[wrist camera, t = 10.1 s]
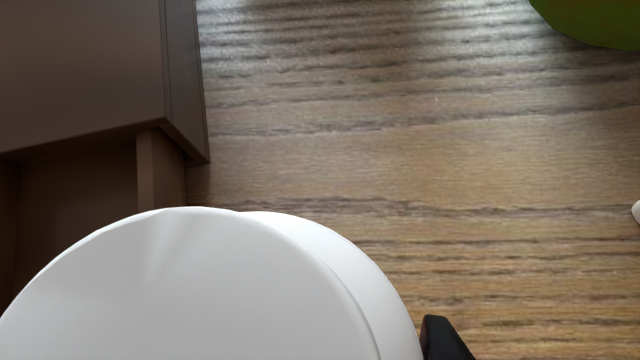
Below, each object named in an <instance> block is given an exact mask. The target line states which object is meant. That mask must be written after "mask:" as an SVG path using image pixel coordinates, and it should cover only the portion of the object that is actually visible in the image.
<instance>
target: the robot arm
mask: <svg viewBox="0 0 640 360" xmlns="http://www.w3.org/2000/svg"><path fill="white" fill-rule="evenodd" d="M419 343H420V346H421V350H422V355H423V359H424V360H476V359H475V358H474V356H473V355H472V353H471V352H470V351H469V349H468V348H467V346H466V345H465V343H464V342H463V341H462V339H461V338H460V336H459V335H458V334H457V332H456V331H455V329H454V328H453V326H452V325H451V324H450V322H449V321H448V319H447V318H445V317H444V316H438V315H430V314H426V315H425V316H424V318H423V322H422V328H421V334H420V340H419Z"/></svg>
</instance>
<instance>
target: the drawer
mask: <svg viewBox="0 0 640 360" xmlns="http://www.w3.org/2000/svg"><path fill="white" fill-rule="evenodd" d="M174 207H186V195H185V181H184V166H183V152H182V148H181V147H180V146H179V145H178V144H177V143H176V142H175V141H174V140H173V139H172V138H171V137H169V136H168V135H167V134H166V133H165V132H164V131H163V130H162V129H161V128H160V127H159V126H156V127H152V128H147V129H142V130H138V131H133V132H128V133H124V134H119V135H114V136H110V137H105V138H100V139H96V140H91V141H86V142H82V143H77V144H72V145H68V146H63V147H58V148H54V149H49V150H44V151H40V152H35V153H30V154H26V155H21V156H16V157H12V158H7V159H2V160H0V318H1V316H2V315H3V314H4V312H5V311H6V309H7V308H8V307H9V306H10V304H11V303H12V302H13V301H14V299H15V298H16V297H17V296H18V294H19V293H20V292H21V291H22V290H23V289H24V288H25V287H26V285H27V284H28V283H29V282H30V281H31V280H32V279H33V278H34V277H35V276H36V275H37V274H38V273H39V272H40V271H41V270H42V269H43V268H44V267H46V266H47V265H48V264H49V263H50V262H51V261H52V260H53V259H55V258H56V257H57V256H59V255H60V254H61V253H63V252H64V251H65V250H67V249H68V248H70V247H71V246H73V245H74V244H75V243H77V242H78V241H80V240H82V239H83V238H85V237H87V236H88V235H90V234H92V233H93V232H95V231H97V230H99V229H101V228H103V227H106V226H108V225H110V224H113V223H115V222H117V221H120V220H122V219H125V218H128V217H131V216H133V215H137V214H140V213H144V212H148V211H153V210H159V209H165V208H174Z"/></svg>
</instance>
